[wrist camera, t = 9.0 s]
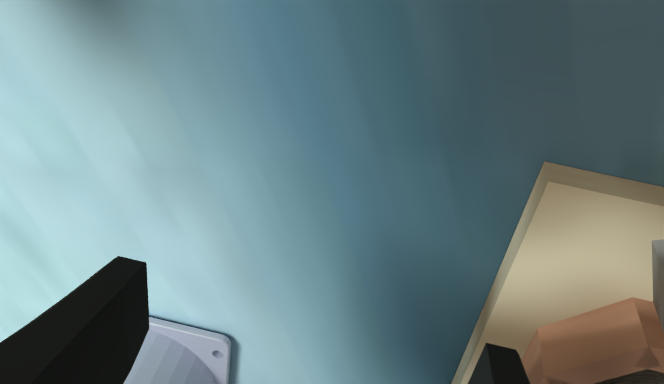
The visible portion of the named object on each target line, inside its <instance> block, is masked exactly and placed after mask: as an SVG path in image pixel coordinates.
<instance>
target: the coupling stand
mask: <svg viewBox="0 0 664 384" xmlns="http://www.w3.org/2000/svg"><path fill="white" fill-rule="evenodd" d="M486 343H490V344H494V345H498V346H503V347H507V348H511V349H515V350H516V351H517V352H518V354H519V355H520V358H521V361H522V363H523V366H524V369H525V371H526V374H527V377H528V379H529V382H530V384H594V383H597V382H601V381H605V380H609V379H612V378H616V377H620V376H623V375H627V374H631V373H634V372H638V371H642V370H646V369H649V370H654V371H658V372H662V373H664V187H660V186H656V185H651V184H646V183H642V182H637V181H633V180H628V179H623V178H619V177H614V176H609V175H605V174H600V173H596V172H591V171H586V170H582V169H577V168H572V167H568V166H563V165H559V164H554V163H549V162H545V161H544V163H543V166H542V168H541V171H540V173H539V175H538V178H537V180H536V183H535V185H534V187H533V190H532V192H531V195H530V197H529V199H528V202H527V204H526V206H525V209H524V211H523V214H522V216H521V218H520V221H519V223H518V226H517V228H516V230H515V233H514V235H513V238H512V240H511V242H510V245H509V247H508V249H507V252H506V254H505V257H504V259H503V261H502V264H501V266H500V269H499V271H498V273H497V276H496V278H495V280H494V283H493V285H492V288H491V290H490V292H489V295H488V297H487V300H486V302H485V304H484V307H483V309H482V312H481V314H480V316H479V319H478V321H477V323H476V326H475V328H474V331H473V333H472V335H471V338H470V340H469V343H468V345H467V347H466V350H465V352H464V354H463V357H462V359H461V362H460V364H459V366H458V369H457V371H456V374H455V376H454V378H453V381H452V383H451V384H468V382H469V380H470V377H471V375H472V373H473V371H474V368H475V366H476V364H477V362H478V359H479V357H480V355H481V353H482V350H483V348H484V346H485V344H486Z"/></svg>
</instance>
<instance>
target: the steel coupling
mask: <svg viewBox="0 0 664 384" xmlns="http://www.w3.org/2000/svg"><path fill="white" fill-rule="evenodd" d="M594 384H664V373H662V372H658V371H654V370H649V369H646V370H642V371H638V372H634V373H631V374H627V375H623V376H620V377H616V378H612V379H609V380H605V381H601V382H597V383H594Z"/></svg>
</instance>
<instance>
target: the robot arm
mask: <svg viewBox="0 0 664 384" xmlns="http://www.w3.org/2000/svg"><path fill="white" fill-rule="evenodd" d="M230 355H231V341H230V340H229V338H228V337H226V336H225V335H222V334H219V333H214V332H210V331H206V330H202V329H198V328H194V327H190V326H185V325H181V324H177V323H173V322H169V321H165V320H160V319H156V318H152V317H149V308H148V288H147V268H146V262H141V261H137V260H133V259H129V258H124V257H120V256H118V257H116V258H115V259H113V260H112V261H111V262H109V263H108V264H107V265H106V266H104V267H103V268H102V269H100V270H99V271H98V272H97V273H95V274H94V275H93V276H91V277H90V278H89V279H88V280H86V281H85V282H84V283H82V284H81V285H80V286H79V287H77V288H76V289H75V290H73V291H72V292H71V293H69V294H68V295H67V296H66V297H64V298H63V299H62V300H60V301H59V302H57V303H56V304H55V305H53V306H52V307H51V308H49V309H48V310H46V311H45V312H44V313H42V314H41V315H40V316H38V317H37V318H36V319H34V320H33V321H31V322H30V323H29V324H27V325H26V326H24V327H23V328H21V329H20V330H18V331H17V332H15V333H14V334H12V335H11V336H9V337H8V338H6V339H5V340H3V341H2V342H0V384H228V383H229V369H230ZM468 384H530V382H529V379H528V377H527V374H526V371H525V369H524V366H523V363H522V361H521V358H520V355H519V354H518V352H517V351H516V350H515V349H511V348H507V347H503V346H498V345H494V344H490V343H486V344H485V346H484V348H483V350H482V353H481V355H480V357H479V359H478V362H477V364H476V366H475V368H474V371H473V373H472V375H471V377H470V380H469V382H468Z"/></svg>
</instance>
